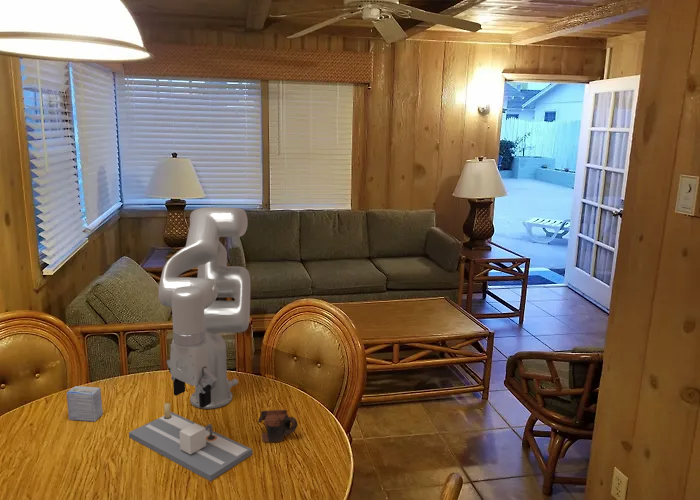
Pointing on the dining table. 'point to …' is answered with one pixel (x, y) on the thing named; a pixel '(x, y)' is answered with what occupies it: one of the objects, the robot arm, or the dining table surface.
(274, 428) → the pottery mug
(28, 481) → the dining table surface
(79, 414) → the medicine box
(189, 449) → the white block with pointer
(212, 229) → the robot arm
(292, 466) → the dining table surface
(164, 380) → the dining table surface
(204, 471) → the gauge board
